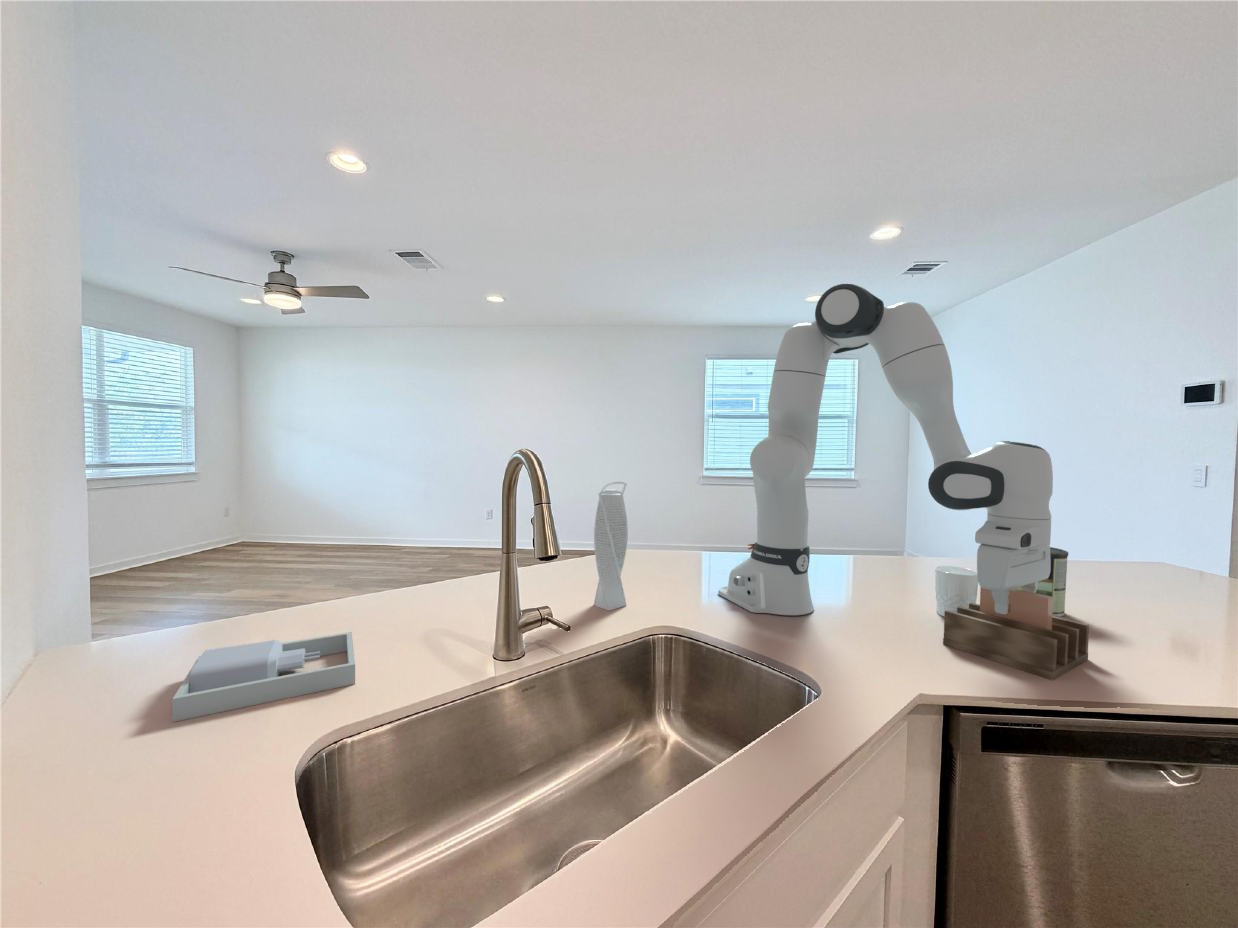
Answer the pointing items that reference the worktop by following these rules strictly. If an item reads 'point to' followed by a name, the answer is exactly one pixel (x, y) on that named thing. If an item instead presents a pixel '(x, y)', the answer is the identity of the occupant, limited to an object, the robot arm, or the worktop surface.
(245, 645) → the charger
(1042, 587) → the coffee can
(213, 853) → the worktop surface
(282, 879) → the worktop surface
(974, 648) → the dish rack
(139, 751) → the worktop surface
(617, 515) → the skyscraper
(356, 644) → the worktop surface
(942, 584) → the white cup
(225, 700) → the tray
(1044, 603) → the tan wooden panel
